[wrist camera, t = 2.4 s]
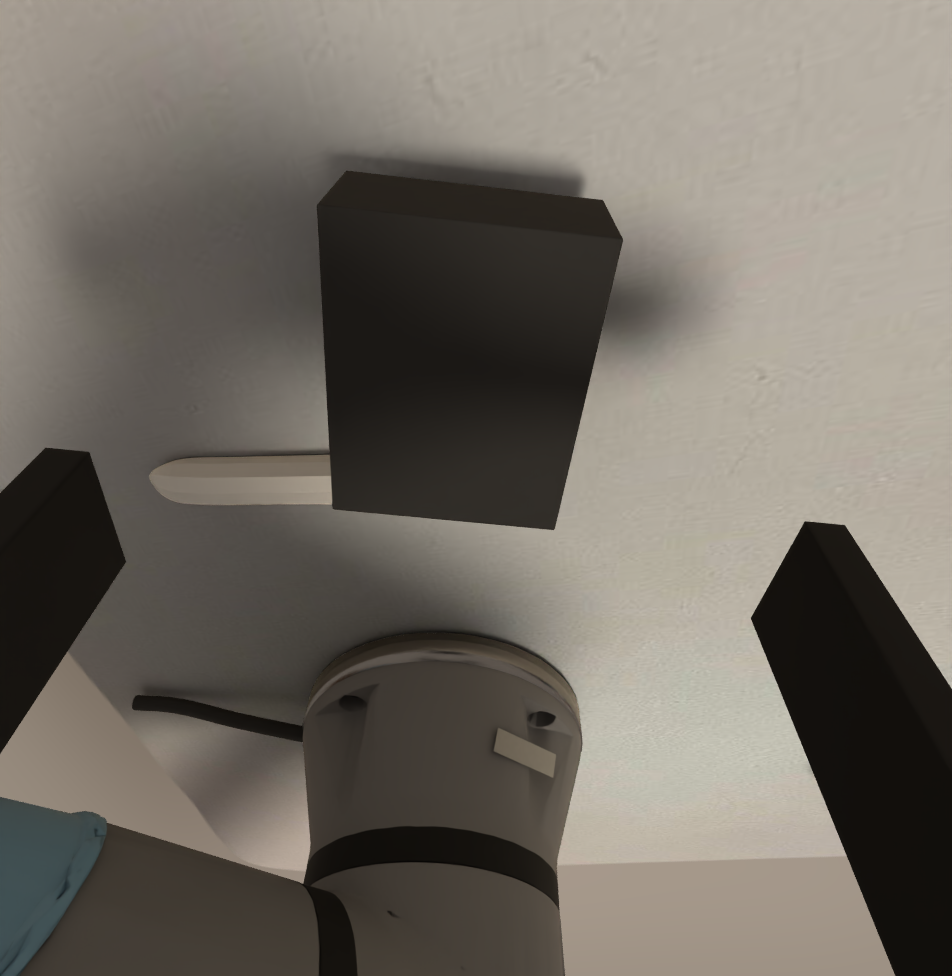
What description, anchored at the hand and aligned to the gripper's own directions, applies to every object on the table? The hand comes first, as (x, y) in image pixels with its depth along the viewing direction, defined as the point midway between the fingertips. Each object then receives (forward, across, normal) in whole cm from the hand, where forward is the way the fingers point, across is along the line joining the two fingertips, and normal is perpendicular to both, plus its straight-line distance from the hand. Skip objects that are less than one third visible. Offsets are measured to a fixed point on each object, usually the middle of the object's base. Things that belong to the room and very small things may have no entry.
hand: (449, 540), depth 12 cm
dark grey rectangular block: (+12, 0, 0) cm, 12 cm away
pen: (+12, -5, -7) cm, 15 cm away
